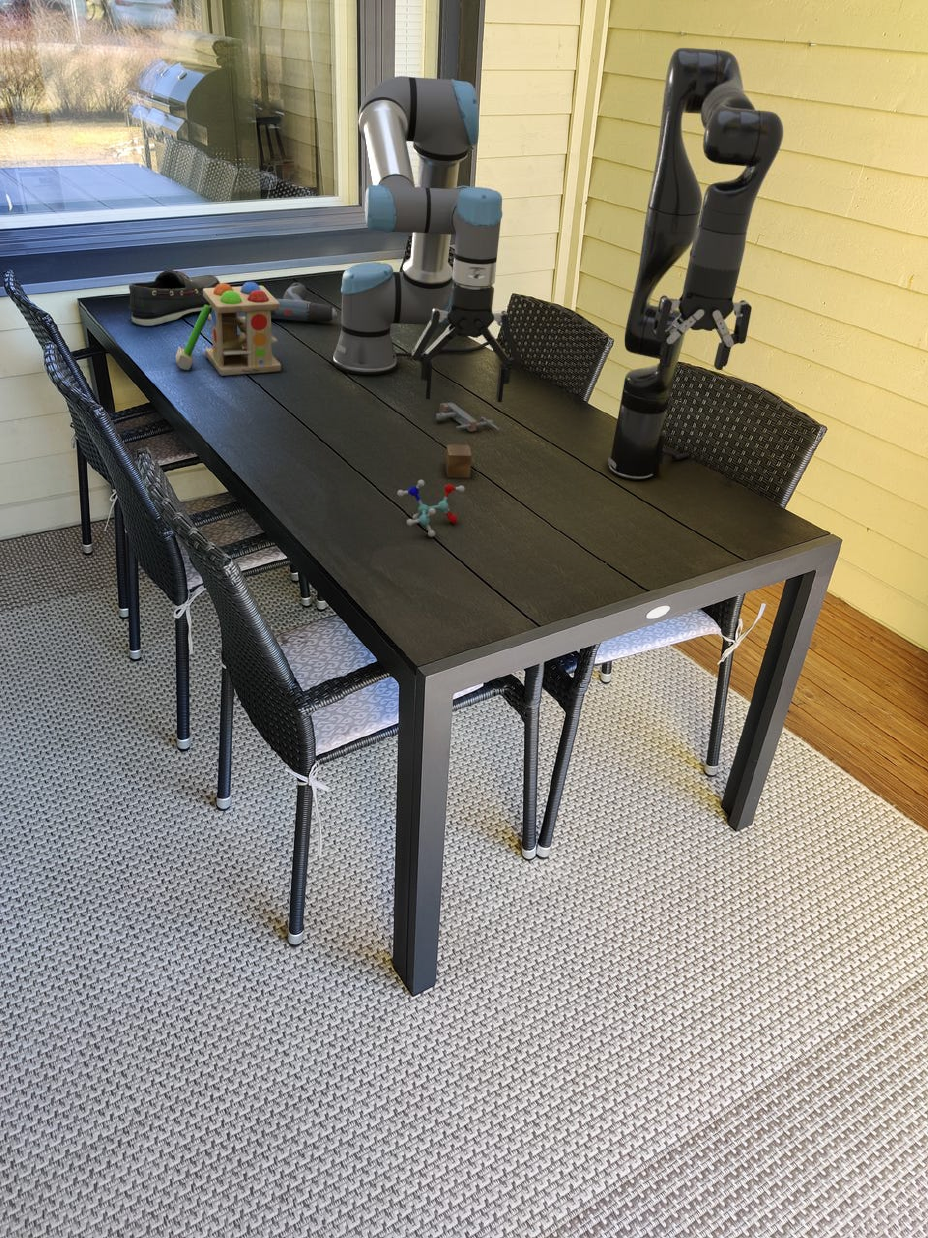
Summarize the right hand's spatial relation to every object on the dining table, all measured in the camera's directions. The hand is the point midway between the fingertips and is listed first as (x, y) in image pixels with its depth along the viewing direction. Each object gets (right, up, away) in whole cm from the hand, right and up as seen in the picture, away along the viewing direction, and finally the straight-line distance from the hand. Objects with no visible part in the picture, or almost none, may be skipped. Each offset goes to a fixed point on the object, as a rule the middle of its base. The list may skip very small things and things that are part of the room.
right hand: (691, 366), depth 153 cm
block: (-37, -10, +40) cm, 56 cm away
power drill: (-79, +44, +114) cm, 145 cm away
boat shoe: (-112, +43, +107) cm, 160 cm away
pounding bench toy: (-92, +20, +77) cm, 121 cm away
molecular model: (-42, -23, +21) cm, 53 cm away
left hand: (-36, +2, +32) cm, 48 cm away
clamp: (-36, +3, +60) cm, 69 cm away
